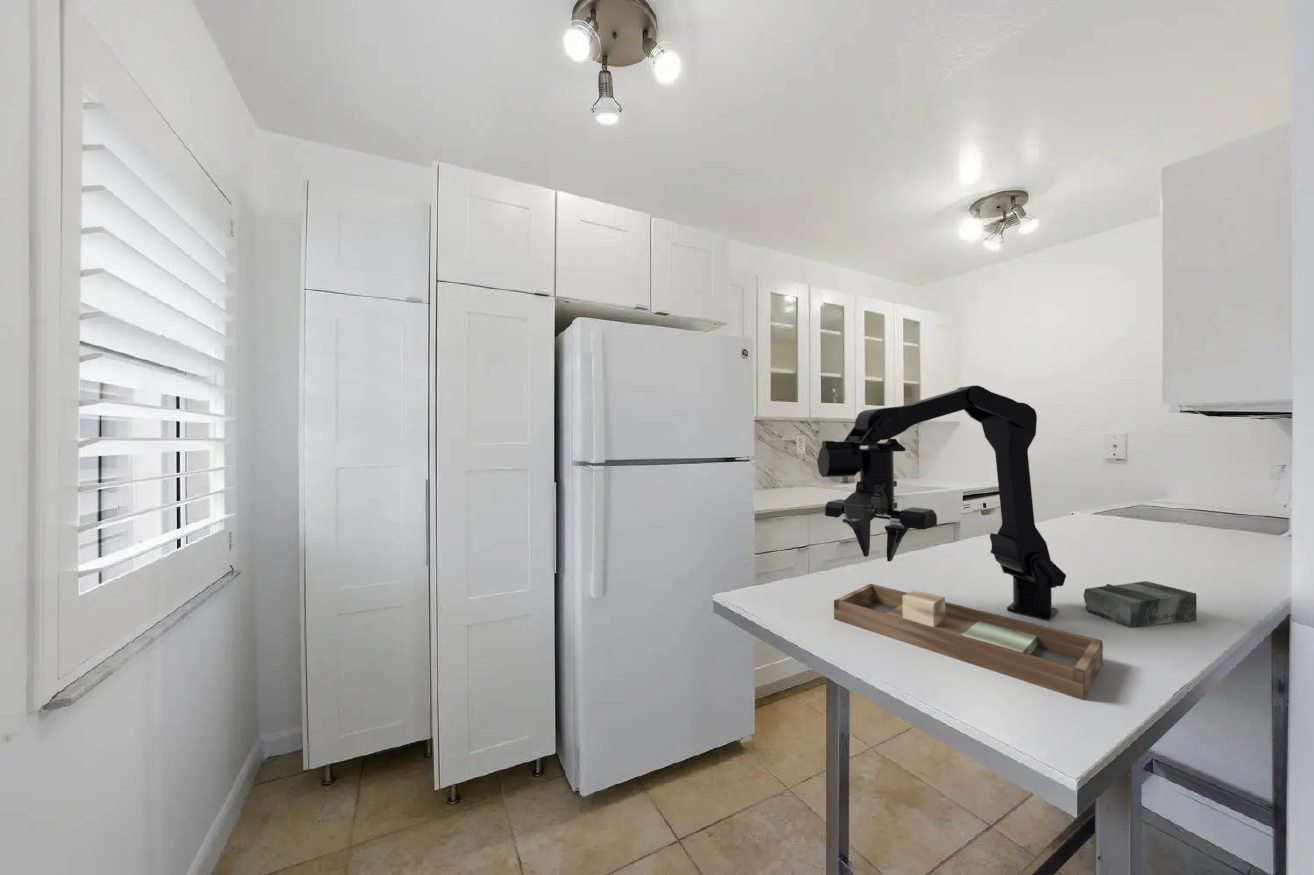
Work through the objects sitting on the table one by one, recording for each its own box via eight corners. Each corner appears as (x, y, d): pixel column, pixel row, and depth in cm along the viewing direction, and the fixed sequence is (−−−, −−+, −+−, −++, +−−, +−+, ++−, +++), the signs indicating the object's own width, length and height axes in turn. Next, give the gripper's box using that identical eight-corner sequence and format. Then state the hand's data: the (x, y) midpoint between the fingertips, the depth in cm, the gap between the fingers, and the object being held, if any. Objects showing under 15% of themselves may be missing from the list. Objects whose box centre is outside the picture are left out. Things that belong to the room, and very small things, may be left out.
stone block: (1077, 610, 90) (1076, 583, 90) (1139, 604, 92) (1139, 578, 92) (1130, 629, 81) (1129, 599, 81) (1198, 622, 84) (1197, 593, 84)
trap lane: (870, 600, 97) (870, 583, 97) (1102, 664, 70) (1102, 640, 70) (834, 618, 88) (833, 600, 88) (1083, 699, 61) (1083, 673, 61)
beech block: (915, 611, 86) (914, 589, 86) (945, 619, 82) (945, 596, 82) (902, 618, 83) (902, 596, 83) (933, 627, 79) (933, 603, 79)
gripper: (808, 476, 90) (809, 556, 91) (909, 483, 76) (911, 579, 76) (839, 471, 97) (840, 546, 98) (937, 477, 83) (938, 566, 83)
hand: (877, 558), depth 88 cm, fingers open, 4 cm apart
